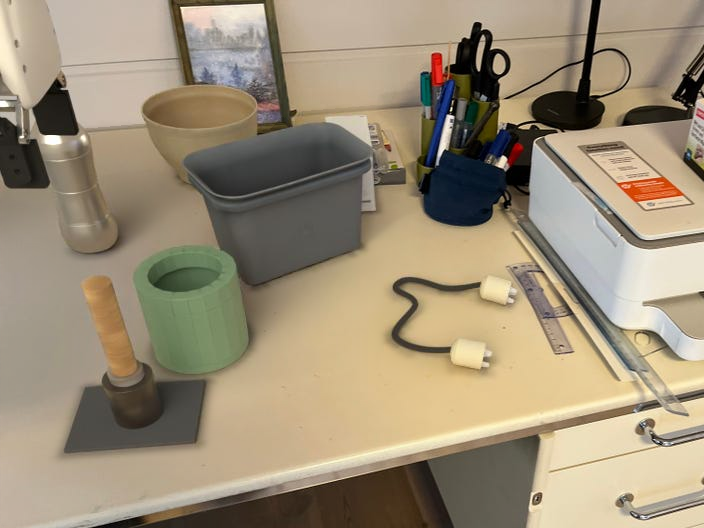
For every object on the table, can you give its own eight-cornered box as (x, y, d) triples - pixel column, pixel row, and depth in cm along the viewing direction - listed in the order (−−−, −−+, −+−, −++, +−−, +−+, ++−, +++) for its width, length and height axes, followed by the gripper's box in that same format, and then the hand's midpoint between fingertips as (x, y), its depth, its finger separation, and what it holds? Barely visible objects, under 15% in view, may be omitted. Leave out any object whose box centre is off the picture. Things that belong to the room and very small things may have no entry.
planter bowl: (179, 209, 107) (163, 137, 100) (142, 164, 117) (125, 95, 110) (283, 183, 115) (275, 114, 108) (241, 143, 125) (231, 77, 118)
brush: (110, 431, 74) (61, 299, 64) (119, 399, 77) (74, 269, 67) (159, 427, 75) (119, 297, 64) (166, 396, 78) (129, 267, 68)
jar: (147, 377, 81) (124, 302, 74) (162, 319, 88) (142, 246, 82) (245, 371, 82) (231, 297, 76) (251, 315, 90) (239, 243, 83)
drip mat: (64, 453, 72) (63, 450, 72) (86, 389, 79) (84, 387, 78) (195, 443, 74) (194, 440, 74) (205, 382, 81) (204, 379, 80)
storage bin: (239, 306, 91) (220, 200, 82) (187, 249, 100) (164, 147, 91) (386, 253, 102) (384, 154, 93) (328, 205, 111) (320, 111, 101)
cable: (357, 352, 86) (355, 328, 84) (400, 276, 98) (400, 253, 96) (489, 379, 84) (491, 355, 81) (517, 297, 96) (520, 275, 94)
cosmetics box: (328, 179, 117) (323, 114, 110) (370, 178, 118) (368, 113, 111) (331, 213, 109) (326, 145, 102) (376, 211, 110) (374, 144, 103)
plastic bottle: (111, 260, 97) (65, 109, 84) (58, 258, 97) (3, 106, 84) (129, 234, 102) (87, 87, 89) (78, 232, 101) (29, 84, 88)
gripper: (-42, -96, 58) (27, 116, 70) (-143, -37, 46) (-40, 211, 57) (62, -90, 60) (113, 117, 71) (-8, -31, 47) (67, 210, 58)
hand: (45, 159), depth 64 cm, fingers open, 9 cm apart
